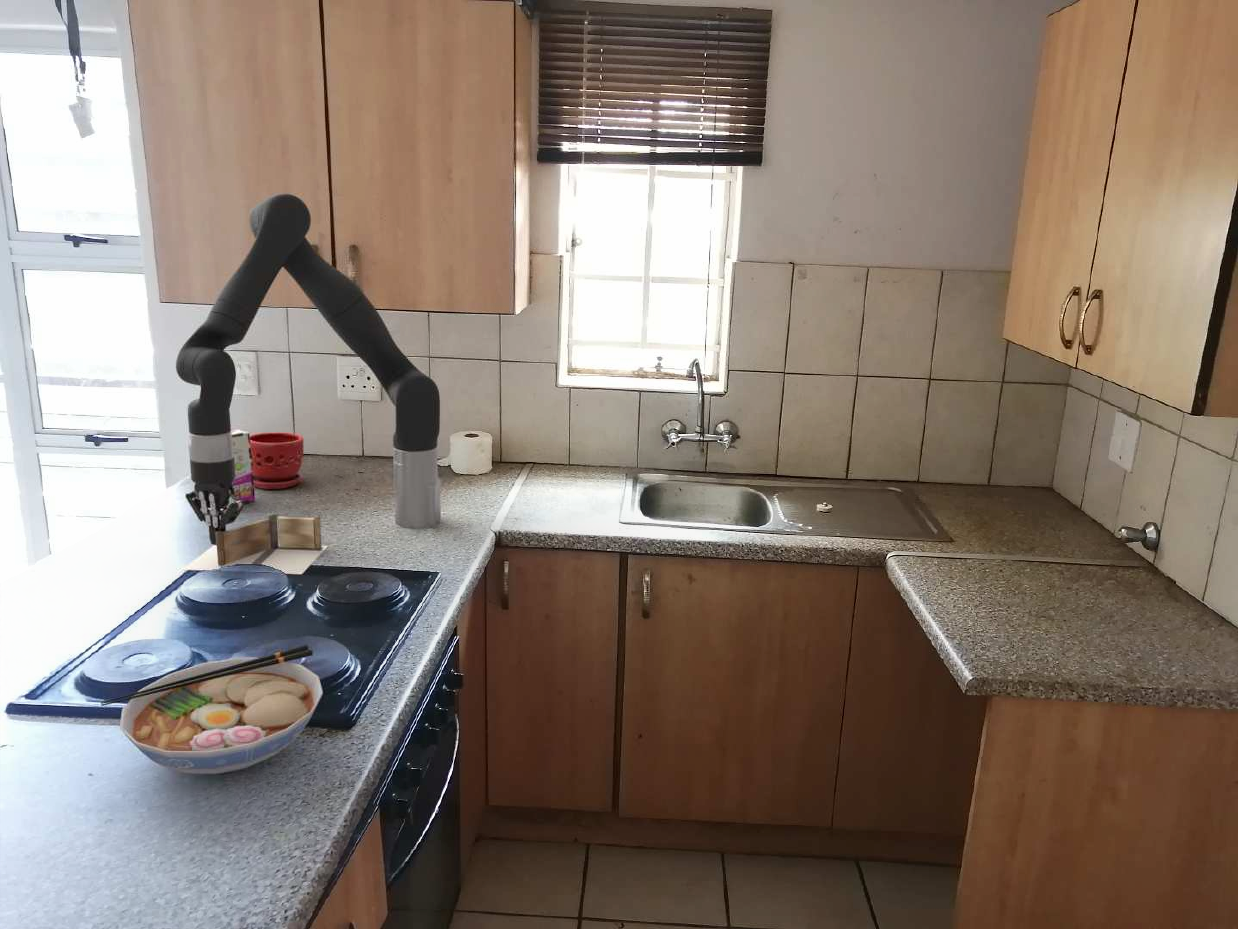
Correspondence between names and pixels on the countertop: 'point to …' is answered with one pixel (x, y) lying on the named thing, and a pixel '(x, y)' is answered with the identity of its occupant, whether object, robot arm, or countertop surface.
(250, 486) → the candy bar box
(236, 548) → the fence hinged panel
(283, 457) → the plant pot
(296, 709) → the ramen bowl
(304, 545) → the fence fixed
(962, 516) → the countertop surface
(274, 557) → the card
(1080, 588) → the countertop surface
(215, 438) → the robot arm
